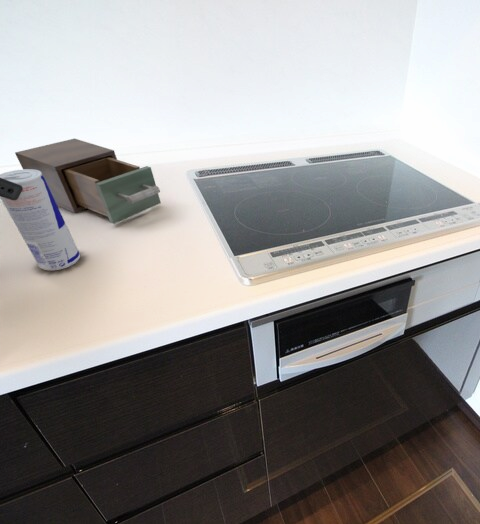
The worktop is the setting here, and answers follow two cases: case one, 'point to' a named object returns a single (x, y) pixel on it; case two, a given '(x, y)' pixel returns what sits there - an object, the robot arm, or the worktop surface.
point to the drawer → (113, 187)
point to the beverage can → (40, 221)
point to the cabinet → (62, 166)
